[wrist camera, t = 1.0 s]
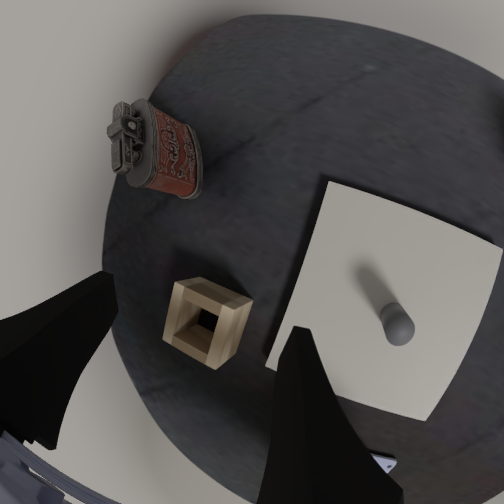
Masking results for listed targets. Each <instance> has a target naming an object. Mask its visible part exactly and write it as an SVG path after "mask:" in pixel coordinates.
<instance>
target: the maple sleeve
mask: <svg viewBox="0 0 504 504" xmlns="http://www.w3.org/2000/svg"><path fill="white" fill-rule="evenodd" d="M252 303H253V299H250V298H248V297H245V296H243V295H241V294H238V293H236V292H234V291H231V290H229V289H227V288H225V287H222V286H220V285H218V284H215V283H213V282H211V281H209V280H206V279H204V278H202V277H197V278H192V279H187V280H181V281H176V282H175V283H174V288H173V292H172V296H171V301H170V305H169V310H168V314H167V319H166V324H165V329H164V334H163V339H162V340H164V341H166V342H167V343H169V344H171V345H172V346H174V347H176V348H177V349H179V350H181V351H182V352H184V353H186V354H187V355H189V356H191V357H193V358H194V359H196V360H198V361H200V362H202V363H203V364H205V365H207V366H209V367H211V368H213V369H214V370H216V369H217V368H219V367H220V366H221V365H222V364H224V363H225V362H226V361H227V360H228V359H230V358H231V357H232V356H233V355H234V354H236V351H237V348H238V345H239V342H240V339H241V336H242V333H243V330H244V327H245V324H246V321H247V318H248V315H249V312H250V309H251V306H252ZM202 308H203V309H205V310H207V311H209V312H211V313H213V314H215V315H217V316H219V318H218V322H217V325H216V329H215V332H212V331H210V330H208V329H206V328H204V327H202V326H200V325H198V320H199V316H200V312H201V309H202Z"/></svg>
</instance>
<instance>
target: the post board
mask: <svg viewBox="0 0 504 504" xmlns="http://www.w3.org/2000/svg"><path fill="white" fill-rule="evenodd" d="M502 252H503V249H501V248H499V247H497V246H495V245H493V244H491V243H489V242H487V241H485V240H483V239H481V238H479V237H477V236H475V235H473V234H470V233H468V232H466V231H464V230H462V229H459V228H457V227H455V226H453V225H450V224H448V223H446V222H443V221H441V220H439V219H436V218H434V217H431V216H429V215H426V214H424V213H421V212H419V211H416V210H414V209H411V208H408V207H406V206H403V205H400V204H398V203H395V202H392V201H389V200H386V199H384V198H381V197H378V196H375V195H372V194H369V193H366V192H363V191H360V190H357V189H354V188H350V187H347V186H344V185H341V184H337V183H334V182H331V181H329V182H328V186H327V189H326V193H325V196H324V199H323V203H322V206H321V209H320V213H319V216H318V219H317V222H316V225H315V229H314V232H313V235H312V238H311V241H310V244H309V247H308V250H307V253H306V256H305V259H304V262H303V265H302V268H301V271H300V274H299V277H298V280H297V283H296V285H295V288H294V291H293V294H292V297H291V300H290V302H289V305H288V308H287V311H286V313H285V316H284V319H283V321H282V324H281V327H280V329H279V332H278V335H277V337H276V340H275V342H274V345H273V348H272V350H271V353H270V355H269V358H268V360H267V363H266V365H265V366H266V367H268V368H271V369H273V370H275V371H277V365H278V360H279V356H280V354H281V352H282V350H283V348H284V346H285V344H286V341H287V339H288V337H289V335H290V333H291V331H292V328H293V326H294V325H295V326H299V327H304V328H309V329H310V330H311V332H312V335H313V338H314V341H315V344H316V347H317V350H318V353H319V356H320V359H321V361H322V364H323V367H324V369H325V372H326V374H327V377H328V379H329V382H330V384H331V386H332V388H333V391H334V393H335V394H336V395H339V396H341V397H344V398H347V399H350V400H353V401H356V402H359V403H362V404H365V405H368V406H372V407H375V408H378V409H382V410H385V411H388V412H392V413H396V414H399V415H403V416H407V417H411V418H414V419H419V420H423V421H426V419H427V418H428V416H429V415H430V414H431V412H432V411H433V409H434V408H435V406H436V405H437V403H438V401H439V400H440V398H441V397H442V395H443V394H444V392H445V390H446V389H447V387H448V385H449V384H450V382H451V380H452V378H453V377H454V375H455V373H456V371H457V369H458V367H459V366H460V364H461V362H462V360H463V358H464V356H465V354H466V352H467V350H468V348H469V346H470V343H471V341H472V339H473V337H474V335H475V332H476V330H477V328H478V325H479V323H480V321H481V318H482V316H483V313H484V310H485V308H486V305H487V302H488V299H489V297H490V294H491V291H492V288H493V284H494V281H495V278H496V275H497V271H498V268H499V264H500V260H501V256H502Z"/></svg>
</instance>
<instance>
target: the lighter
mask: <svg viewBox="0 0 504 504" xmlns="http://www.w3.org/2000/svg"><path fill="white" fill-rule="evenodd" d="M107 135H108V137H109V138H110V139H111V141H112V145H111V146H112V148H111V149H112V150H111V151H112V169H113V172H114V173H118V174H122V175H126V179H127V182H128V184H129V185H130V186H132V187H137V188H145V187H147V188H151V189H155V190H159V191H163V192H167V193H172V194H176V195H177V196H179V197H180V198H184V199H189V200H190V199H194V198H196V197H197V196H198V195H199V194H200V192H201V191H202V187H203V165H202V155H201V150H200V146H199V142H198V139H197V136H196V133H195V131H194V129H193V128H192V127H190V126H189V125H187V124H182V123H180V122H178V121H177V120H175V119H173V118H172V117H170V116H168V115H167V114H165V113H163V112H161V111H160V110H158V109H156V108H155V107H153V106H152V104H151V103H150V102H149V101H147V100H145V99H139V100H137V101H135V102H134V103H132V104H131V105H129V104H127V103H125V102H122V101H121V102H119V103H117V104H116V105H115V106H114V108H113V121H112V124H111V125H110V126H108V127H107Z"/></svg>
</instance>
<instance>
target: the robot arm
mask: <svg viewBox="0 0 504 504" xmlns="http://www.w3.org/2000/svg"><path fill="white" fill-rule="evenodd" d="M117 313H118V306H117V299H116V293H115V286H114V278H113V275H112V274H109V273H107V272H104V271H99V272H97V273H96V274H93V275H92V276H90V277H88V278H86V279H84V280H82V281H81V282H79V283H77V284H75V285H74V286H72V287H70V288H68V289H66V290H65V291H63V292H61V293H59V294H58V295H56V296H54V297H52V298H50V299H48V300H46V301H44V302H42V303H40V304H38V305H36V306H34V307H32V308H30V309H28V310H26V311H23V312H21V313H19V314H16V315H14V316H11V317H8V318H5V319H2V320H0V504H72V503H70V502H68V501H66V500H65V499H64V496H65V495H64V493H63V492H62V491H60V490H59V489H58V488H60V489H61V490H63V491H65V492H66V493H68V494H70V495H71V496H73V497H74V498H76V499H78V500H80V501H81V502H83V503H85V504H120V503H118V502H116V501H114V500H111V499H109V498H107V497H105V496H103V495H101V494H99V493H97V492H95V491H93V490H91V489H89V488H87V487H86V486H84V485H82V484H80V483H78V482H77V481H75V480H73V479H72V478H70V477H68V476H66V475H65V474H64V473H62V472H60V471H59V470H57V469H56V468H54V467H53V466H51V465H50V464H48V463H47V462H45V461H44V460H43V459H41V458H40V457H38V456H37V455H35V454H34V453H33V452H32V451H30V450H29V449H28V448H27V447H25V446H24V445H23V442H24V440H26V441H28V442H29V443H30V444H33V442H34V440H35V441H37V442H38V443H39V444H41V445H42V446H44V447H45V448H46V449H48V450H54V449H56V446H57V441H58V436H59V432H60V427H61V424H62V421H63V417H64V414H65V411H66V408H67V405H68V403H69V400H70V397H71V395H72V392H73V390H74V388H75V386H76V384H77V381H78V379H79V377H80V375H81V373H82V371H83V370H84V368H85V366H86V365H87V363H88V362H89V360H90V359H91V357H92V356H93V354H94V352H95V351H96V349H97V348H98V346H99V345H100V343H101V342H102V340H103V339H104V337H105V336H106V334H107V333H108V331H109V329H110V327H111V325H112V323H113V321H114V319H115V317H116V315H117ZM396 463H397V460H396V459H394V458H389V457H385V456H380V455H376V454H372V453H370V452H369V451H368V449H367V448H366V447H365V445H364V444H363V442H362V441H361V440H360V438H359V437H358V435H357V433H356V432H355V430H354V429H353V427H352V425H351V424H350V422H349V420H348V418H347V417H346V415H345V413H344V411H343V409H342V407H341V405H340V403H339V401H338V399H337V397H336V395H335V393H334V391H333V388H332V386H331V384H330V382H329V379H328V377H327V374H326V372H325V369H324V367H323V364H322V361H321V359H320V356H319V353H318V350H317V347H316V344H315V341H314V338H313V335H312V332H311V330H310V329H309V328H304V327H299V326H295V325H294V326H293V328H292V331H291V333H290V335H289V337H288V339H287V341H286V344H285V346H284V348H283V350H282V352H281V354H280V356H279V360H278V365H277V371H276V377H275V386H274V404H273V421H272V434H271V442H270V447H269V453H268V458H267V463H266V467H265V472H264V476H263V480H262V484H261V488H260V492H259V496H258V500H257V503H256V504H404V495H403V489H402V488H401V487H400V486H399V485H398V484H397V483H396V482H395V481H394V480H393V479H392V478H391V477H390V476H389V475H388V474H387V473H388V472H389V471H390V470H391V469H392V468H393V467H394V466H395V465H396ZM388 465H390V466H388ZM28 466H29V467H30V468H31V469H32V470H34V471H35V472H36V473H38V474H39V475H41V476H42V477H43V478H45V479H46V480H45V479H43V478H41V477H40V476H38V475H36V474H34V473H32V472H31V471H30V470H29V467H28ZM47 480H48V481H49V482H48V481H47ZM50 482H51V483H52V484H51V483H50ZM53 484H54V485H55V486H57V487H58V488H57V487H55V486H54V485H53Z"/></svg>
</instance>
